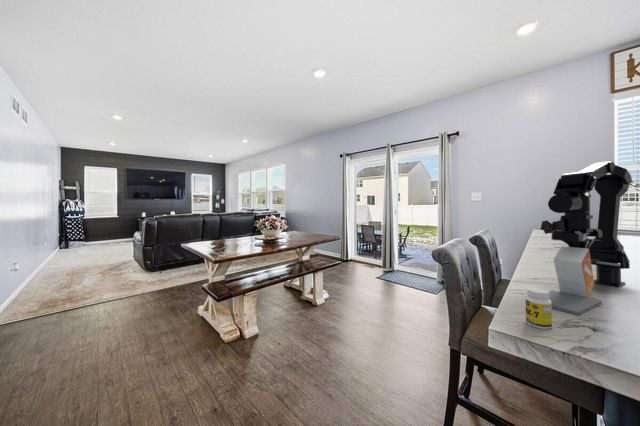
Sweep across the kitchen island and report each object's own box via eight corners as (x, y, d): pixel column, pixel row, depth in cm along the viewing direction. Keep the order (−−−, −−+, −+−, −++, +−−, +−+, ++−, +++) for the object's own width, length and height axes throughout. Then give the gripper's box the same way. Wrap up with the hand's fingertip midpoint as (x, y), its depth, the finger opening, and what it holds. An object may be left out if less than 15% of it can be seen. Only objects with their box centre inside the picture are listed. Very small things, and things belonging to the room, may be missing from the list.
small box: (588, 299, 74) (582, 262, 71) (559, 294, 79) (552, 259, 76) (595, 283, 78) (589, 248, 75) (567, 279, 83) (561, 245, 80)
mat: (552, 292, 81) (552, 290, 81) (601, 303, 71) (601, 300, 71) (528, 301, 74) (528, 299, 74) (578, 315, 64) (578, 312, 64)
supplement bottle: (520, 321, 62) (519, 287, 62) (538, 319, 63) (537, 286, 62) (539, 330, 57) (538, 294, 57) (557, 328, 58) (557, 292, 58)
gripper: (557, 211, 90) (558, 254, 90) (530, 213, 82) (531, 260, 82) (602, 211, 80) (603, 259, 80) (577, 213, 72) (578, 267, 72)
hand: (577, 261), depth 79 cm, fingers closed
